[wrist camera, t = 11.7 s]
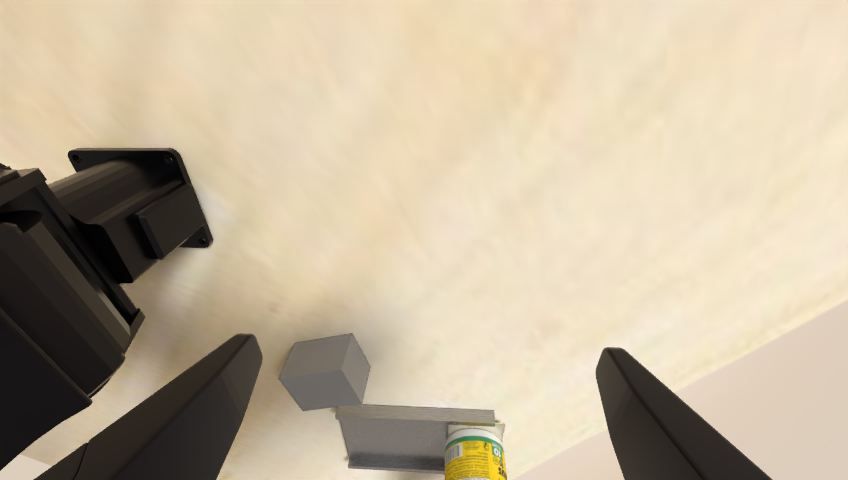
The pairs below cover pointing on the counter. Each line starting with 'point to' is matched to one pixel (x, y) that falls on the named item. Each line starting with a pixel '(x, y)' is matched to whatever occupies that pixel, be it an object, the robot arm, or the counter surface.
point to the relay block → (326, 372)
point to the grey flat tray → (406, 435)
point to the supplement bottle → (474, 456)
